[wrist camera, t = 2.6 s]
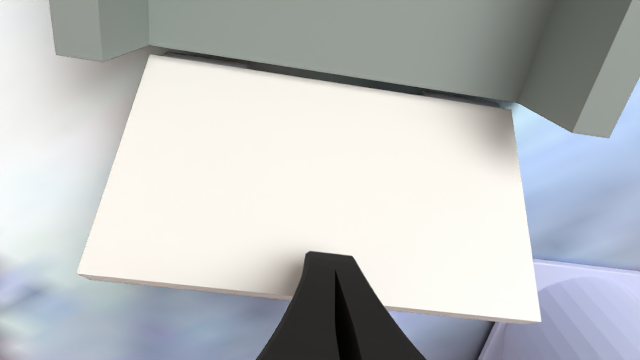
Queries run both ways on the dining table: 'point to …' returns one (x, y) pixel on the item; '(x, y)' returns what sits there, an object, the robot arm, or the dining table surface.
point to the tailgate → (315, 191)
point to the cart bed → (396, 44)
